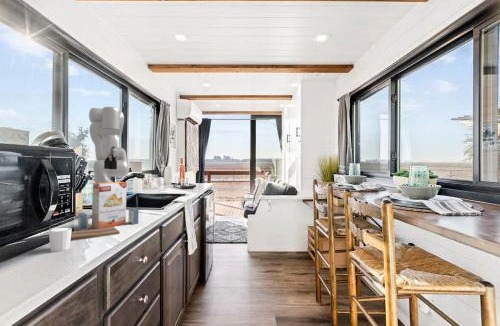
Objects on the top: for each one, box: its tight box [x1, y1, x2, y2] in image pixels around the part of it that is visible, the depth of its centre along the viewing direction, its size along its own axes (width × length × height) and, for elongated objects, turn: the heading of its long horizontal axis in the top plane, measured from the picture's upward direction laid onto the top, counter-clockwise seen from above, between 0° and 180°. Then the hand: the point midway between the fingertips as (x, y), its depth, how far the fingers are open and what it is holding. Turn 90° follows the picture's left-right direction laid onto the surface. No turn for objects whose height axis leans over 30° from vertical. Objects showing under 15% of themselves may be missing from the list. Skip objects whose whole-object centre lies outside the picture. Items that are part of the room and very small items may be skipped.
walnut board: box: [70, 226, 120, 242], centre depth 119 cm, size 11×18×1 cm, turn 129°
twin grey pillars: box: [77, 207, 139, 231], centre depth 134 cm, size 6×25×7 cm, turn 129°
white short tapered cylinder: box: [48, 227, 73, 253], centre depth 99 cm, size 7×7×7 cm
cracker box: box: [91, 181, 128, 229], centre depth 133 cm, size 14×6×21 cm, turn 148°
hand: (110, 169), depth 133 cm, fingers open, 9 cm apart
